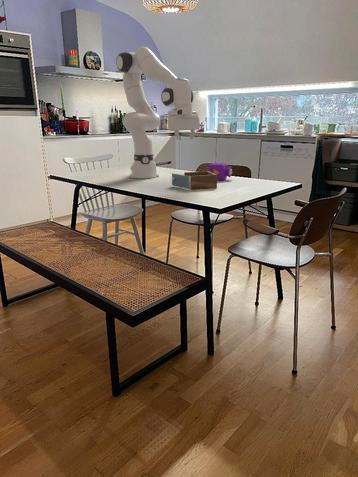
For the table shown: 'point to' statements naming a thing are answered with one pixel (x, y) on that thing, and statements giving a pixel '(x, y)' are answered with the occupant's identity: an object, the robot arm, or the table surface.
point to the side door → (181, 181)
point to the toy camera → (220, 170)
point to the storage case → (202, 180)
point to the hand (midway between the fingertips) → (185, 139)
